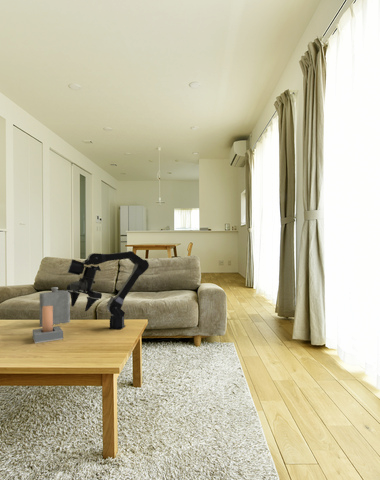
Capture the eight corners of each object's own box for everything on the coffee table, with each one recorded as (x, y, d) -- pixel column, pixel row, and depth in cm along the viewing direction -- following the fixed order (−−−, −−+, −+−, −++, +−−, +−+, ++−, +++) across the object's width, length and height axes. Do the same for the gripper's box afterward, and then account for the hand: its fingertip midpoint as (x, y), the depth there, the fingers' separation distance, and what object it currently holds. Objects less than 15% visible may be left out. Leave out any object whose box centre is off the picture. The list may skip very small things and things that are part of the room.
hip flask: (40, 327, 164) (40, 289, 164) (38, 325, 167) (38, 288, 167) (70, 322, 175) (70, 286, 175) (68, 320, 178) (67, 285, 178)
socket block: (59, 333, 151) (59, 326, 151) (63, 339, 142) (63, 331, 142) (32, 337, 145) (32, 329, 145) (34, 343, 136) (34, 335, 136)
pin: (54, 336, 144) (54, 306, 144) (46, 338, 140) (45, 307, 141) (49, 335, 147) (49, 305, 147) (40, 337, 143) (40, 306, 143)
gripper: (62, 271, 152) (52, 303, 149) (91, 279, 143) (81, 312, 141) (79, 274, 162) (70, 304, 159) (106, 282, 153) (97, 313, 151)
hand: (79, 308), depth 152 cm, fingers open, 9 cm apart
